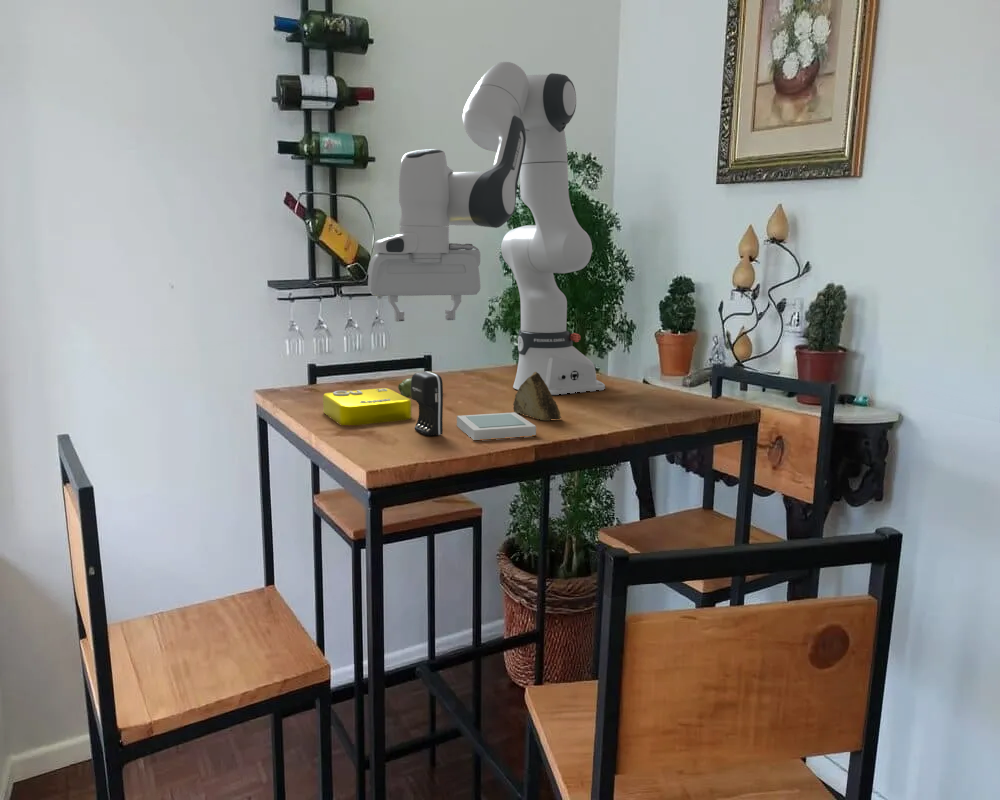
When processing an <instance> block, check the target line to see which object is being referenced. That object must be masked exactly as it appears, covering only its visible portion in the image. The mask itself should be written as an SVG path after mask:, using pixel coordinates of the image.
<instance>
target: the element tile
mask: <svg viewBox="0 0 1000 800" xmlns="http://www.w3.org/2000/svg"><path fill="white" fill-rule="evenodd" d="M322 400H323V401H322V403H323V404H322V405H323V408H322V410H323V414H324V413H325V414H326V415H325V414H324V415H325V416H327V415H328V416H329V417H328V416H327V417H328V418H330V417H331V418H332V419H333V421H334V420H335V421H336V422H335V421H334V422H335V423H337V422H338V423H339V424H341V425H340V426H343V425H355V426H364V425H372V424H382V423H389V422H390V423H391V422H400V421H407V420H411V419H412V399H411V398H409V397H408V396H404V395H403V394H401V393H400V392H399V393H398V392H396V391H395V390H393V389H391V388H386V387H382V388H380V387H379V388H369V389H357V390H356V389H355V390H335V391H333V392H325V393H324V394H322ZM331 418H330V419H331ZM332 419H331V420H332ZM338 423H337V424H338ZM339 424H338V425H339Z"/></svg>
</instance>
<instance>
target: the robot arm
mask: <svg viewBox="0 0 1000 800" xmlns="http://www.w3.org/2000/svg"><path fill="white" fill-rule="evenodd" d="M576 93H577V92H576V89H575V85H574V83H573V81H572V80H571V79H570V78H569V77H568V76H567V75H566V74H561V73H549V74H528V75H527V74H526V72H525V71H524V70H523V68H521V67H520V66H519V65H518V64H515V63H513V62H511V61H500V62H497V63H495V64H493V65H492V66H491V67H490V68H489V69H488V70H486V72H485V73H484V74H483V75H482V77H481V78H480V80H478V82H477V84H476V85H475V86H474V88H473V90H472V92H471V93H470V95H469V97H468V99H467V101H466V102H465V105H464V107H463V111H462V112H463V113H462V123H463V128H464V130H465V132H466V134H467V135H468V137H469V138H470V139H471V141H472V142H473V143H474V144H476V145H477V146H478V147H480V148H481V149H484V150H486V151H491V152H495V157H494V162H493V165H492V166H491V167H490V168H487V169H483V170H479V171H454V170H453V169H451V167H449V165H448V163H447V156H446V153H445V151H444V150H442V149H438V148H428V149H427V148H426V149H416V150H415V149H413V150H410V151H407V152H406V153H404V154H403V156H402V158H401V161H400V168H399V175H398V176H399V177H398V179H399V180H398V203H399V205H400V210H401V211H400V212H401V215H400V216H401V217H400V220H399V232H398V234H392V235H389V236H388V237H384V238H382V239H378V240H376V241H374V244H373V249H374V251H375V252H376V254H374V255H373V256H372V258H371V259H370V262H369V267H368V277H367V278H368V279H367V290H368V292H369V293H370V294H371V296H374V297H387V302H388V304H389V305H390V307H391V309H392V310H393V311H394V321H395V322H405V311H404V310H400V309H399V307H398V306H397V304H396V303H398V301H399V299H398V298H399V297H401V296H403V297H404V296H405V297H406V296H407V297H409V296H413V297H414V296H419V297H420V296H450V300H451V301H452V304H451V306H450V307H449V309H445V316H444V317H445V321H455V320H456V311H457V309H458V308H459V306H460V304H461V303H462V296H476V295H477V294H478V293H479V292H480V290H481V278H480V277H481V276H480V270H479V266H480V264H481V252H480V249H479V248H478V247H476V246H474V245H473V244H472V243H458V242H457V243H452V242H451V243H450V226H470V227H471V226H473V227H474V226H475V227H476V226H478V227H484V228H485V227H486V228H493V229H494V228H496V229H497V228H500V227H502V226H503V225H505V223H507V222H508V220H509V219H511V217H512V216H513V214H514V212H515V210H516V202H517V188H518V182H519V181H520V182H519V183H520V184H519V187H520V188H519V189H520V198H521V200H522V203H524V205H525V206H527V207H528V209H530V212H531V214H532V216H533V219H534V222H535V223H534V224H528V225H526V224H525V225H522V226H519V227H516V228H513V229H510V230H509V231H507V232H506V233H505V235H504V236H503V239H502V241H501V245H500V247H501V249H500V250H501V251H500V252H501V256H502V259H503V261H504V262H505V264H507V266H508V267H509V268H510V269H511V272H512V273H513V276H514V278H515V281H516V285H517V287H518V293H519V298H520V299H519V300H520V329H519V330H518V339H517V348H518V354H519V355H518V362H517V363H518V364H517V370H516V374H515V379H514V381H513V382H514V383H513V385H512V388H513V389H515V390H517V391H518V390H519V388H520V386H521V385H522V384H523V383H524V382H525V381H526V380H527V378H529V377H530V376H531V375H532V374H533V373H534V372H537V373H539V374H540V376H541V378H542V379H543V380H544V382H545V384H546V385H547V387H548V389H549V391H550V393H551V395H552V396H558V395H559V394H561V395H568V394H567V393H570V394H578V393H577V392H580V393H587V392H586V391H590V392H597V391H596V390H599V391H604V389H606V384H604V382H602V381H600V380H598V379H597V373H596V367H595V364H594V363H593V361H592V360H591V359H589V358H588V357H587V356H586V355H585V354H583V353H582V352H580V351H579V350H578V349H577V348H576V347H575V346H573V344H574V343H578V342H580V341H581V339H582V338H581V335H580V334H579V333H576V332H573V333H572V332H571V331H569V330H567V315H568V301H567V297H566V295H565V294H564V293H563V292H562V290H560V288H559V287H558V284H557V282H556V280H555V275H554V274H568V273H573V272H577V271H581V270H582V269H584V268H585V267H586V266H587V265H588V264H589V263H590V260H591V257H592V252H593V245H592V240H591V237H590V235H589V234H588V233H587V231H585V230H584V228H582V226H581V225H580V224H579V222H578V220H577V218H576V216H575V214H574V211H573V209H572V205H571V200H570V194H569V193H570V192H569V174H568V173H569V172H568V169H569V168H568V167H569V165H568V162H569V161H568V148H567V147H568V146H567V139H566V134H565V133H566V131H565V129H566V126H567V125H568V124H569V123H570V122H571V120H572V118H573V117H574V115H575V113H576V107H577V94H576ZM575 392H576V393H575ZM559 396H560V395H559Z"/></svg>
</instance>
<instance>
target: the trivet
mask: <svg viewBox="0 0 1000 800" xmlns="http://www.w3.org/2000/svg"><path fill="white" fill-rule="evenodd" d="M456 427H458V429H460V430H461V431H462V432H463V433H464V434H465V433H466V434H467V435H468V438H470V437H471V438H472V439H473V440H480V439H491V438H505V437H520V436H532V435H536V436H537V426H536V425H535V424H534V423H532V422H530V421H529V420H527V419H526V418H524V417H523V416H522V415H521V414H519V413H516V412H514V411H513V412H500V413H498V412H497V413H484V414H483V413H482V414H481V413H480V414H465V415H464V414H463V415H456ZM466 434H465V435H466ZM467 435H466V436H467ZM471 438H470V439H471ZM472 439H471V440H472ZM473 440H472V441H473Z"/></svg>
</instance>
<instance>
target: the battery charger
mask: <svg viewBox="0 0 1000 800" xmlns="http://www.w3.org/2000/svg"><path fill="white" fill-rule="evenodd" d="M432 372H433V371H431V372H427V371H423V372H422V371H421V372H416V373H414V374H413V375H412V376H411V378H412V379H411V396H410V400H413V401H415V402H416V403H417V404H418V419H417V421H416V422H415V423H416V424H415V426H414V430H415V431H416V432H418V433H419V434H422V435H424V436H427V437H430V436H431V437H433V436H441V435H443V420H444V419H443V414H444V413H443V411H444V408H443V407H444V397H443V396H444V393H443V392H444V386H443V385H444V383H443V379H442V377H441V375H439V374H437V373H436V372H434V373H432ZM435 373H436V374H435Z"/></svg>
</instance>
